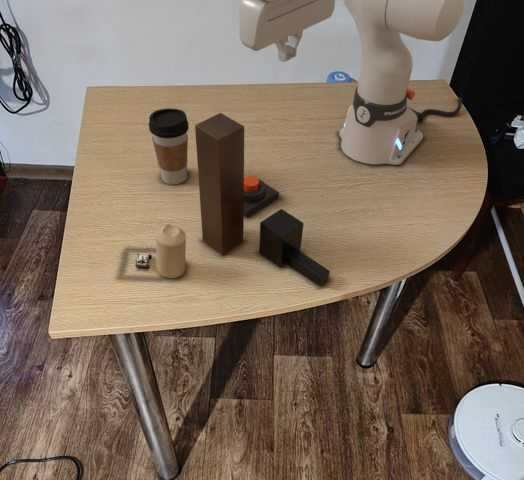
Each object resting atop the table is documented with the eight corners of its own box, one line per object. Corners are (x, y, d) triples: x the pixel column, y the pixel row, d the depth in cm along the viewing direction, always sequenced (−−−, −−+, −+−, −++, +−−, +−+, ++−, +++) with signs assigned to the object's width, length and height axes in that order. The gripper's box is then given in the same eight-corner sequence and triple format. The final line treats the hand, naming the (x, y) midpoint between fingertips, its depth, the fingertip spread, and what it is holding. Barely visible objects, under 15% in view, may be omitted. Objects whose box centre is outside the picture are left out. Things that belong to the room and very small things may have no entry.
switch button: (250, 180, 123) (250, 173, 121) (262, 187, 121) (262, 181, 120) (239, 187, 121) (239, 180, 120) (250, 194, 120) (250, 188, 118)
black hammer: (278, 239, 116) (281, 208, 110) (333, 275, 110) (339, 245, 104) (259, 252, 113) (260, 222, 107) (314, 291, 107) (318, 261, 101)
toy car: (151, 256, 111) (150, 249, 110) (148, 271, 109) (147, 263, 107) (138, 256, 111) (137, 248, 110) (135, 270, 109) (134, 262, 107)
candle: (162, 281, 107) (161, 242, 99) (153, 261, 110) (151, 222, 102) (189, 275, 109) (190, 236, 101) (179, 256, 112) (180, 217, 104)
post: (223, 228, 118) (220, 112, 97) (243, 242, 115) (244, 126, 94) (202, 241, 115) (194, 125, 94) (222, 255, 112) (218, 139, 92)
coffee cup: (186, 190, 125) (181, 129, 113) (150, 184, 126) (141, 123, 114) (196, 168, 130) (192, 108, 118) (162, 163, 131) (154, 102, 119)
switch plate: (253, 182, 128) (253, 169, 125) (278, 198, 124) (279, 185, 122) (221, 200, 123) (221, 187, 120) (247, 217, 120) (247, 204, 117)
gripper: (320, -53, 93) (312, 34, 104) (232, -20, 84) (233, 71, 95) (349, -42, 90) (338, 45, 101) (261, -7, 81) (259, 85, 93)
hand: (287, 58), depth 98 cm, fingers closed
